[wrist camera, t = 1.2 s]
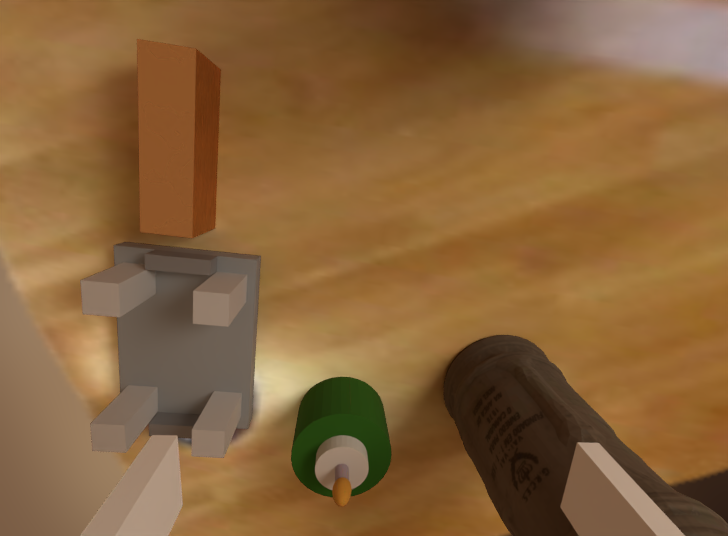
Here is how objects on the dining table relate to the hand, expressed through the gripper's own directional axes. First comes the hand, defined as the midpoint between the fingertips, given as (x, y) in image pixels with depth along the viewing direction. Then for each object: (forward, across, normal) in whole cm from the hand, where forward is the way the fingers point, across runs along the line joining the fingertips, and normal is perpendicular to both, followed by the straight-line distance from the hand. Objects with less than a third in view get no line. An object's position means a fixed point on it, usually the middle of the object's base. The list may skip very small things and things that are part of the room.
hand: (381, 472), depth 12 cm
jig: (+21, -14, -6) cm, 26 cm away
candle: (+21, -1, -14) cm, 25 cm away
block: (+21, -13, +10) cm, 27 cm away
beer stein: (+21, +16, -10) cm, 29 cm away
